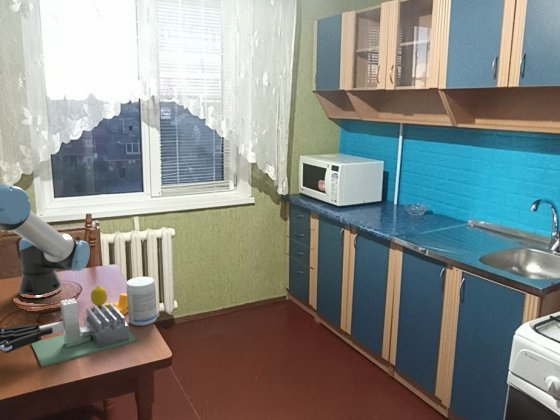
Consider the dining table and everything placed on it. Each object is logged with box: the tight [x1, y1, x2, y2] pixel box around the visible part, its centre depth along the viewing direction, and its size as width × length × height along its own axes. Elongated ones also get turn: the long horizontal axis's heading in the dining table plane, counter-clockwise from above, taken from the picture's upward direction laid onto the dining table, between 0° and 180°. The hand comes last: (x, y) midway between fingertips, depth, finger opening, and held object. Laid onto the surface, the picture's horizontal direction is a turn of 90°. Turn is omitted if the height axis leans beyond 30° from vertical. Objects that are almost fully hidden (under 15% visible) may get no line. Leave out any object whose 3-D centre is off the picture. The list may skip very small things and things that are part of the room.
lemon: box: [90, 285, 108, 308], centre depth 181 cm, size 6×6×8 cm
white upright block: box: [59, 297, 90, 348], centre depth 152 cm, size 4×7×14 cm, turn 126°
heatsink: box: [79, 301, 130, 348], centre depth 157 cm, size 14×13×8 cm
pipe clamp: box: [104, 292, 128, 316], centre depth 173 cm, size 12×4×6 cm, turn 168°
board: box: [30, 330, 138, 368], centre depth 155 cm, size 16×28×1 cm, turn 126°
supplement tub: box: [126, 276, 158, 326], centre depth 170 cm, size 10×10×15 cm
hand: (63, 326), depth 150 cm, fingers closed
